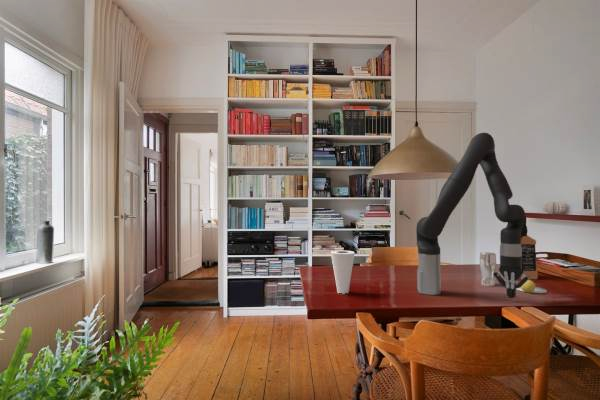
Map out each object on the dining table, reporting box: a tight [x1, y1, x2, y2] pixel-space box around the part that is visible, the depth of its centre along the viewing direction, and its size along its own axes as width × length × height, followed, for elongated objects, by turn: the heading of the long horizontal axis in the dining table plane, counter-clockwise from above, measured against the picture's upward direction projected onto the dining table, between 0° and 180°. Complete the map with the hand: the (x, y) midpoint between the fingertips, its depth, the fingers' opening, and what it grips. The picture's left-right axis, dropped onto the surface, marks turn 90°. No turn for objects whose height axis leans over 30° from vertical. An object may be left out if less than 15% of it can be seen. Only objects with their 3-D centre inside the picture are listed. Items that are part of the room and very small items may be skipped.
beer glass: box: [479, 251, 497, 287], centre depth 165 cm, size 7×7×15 cm
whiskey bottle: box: [518, 215, 539, 280], centre depth 180 cm, size 10×10×32 cm
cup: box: [330, 249, 355, 295], centre depth 153 cm, size 11×11×18 cm
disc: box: [516, 286, 548, 294], centre depth 155 cm, size 12×12×1 cm
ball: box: [521, 279, 536, 294], centre depth 151 cm, size 6×6×6 cm
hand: (511, 297), depth 138 cm, fingers closed
